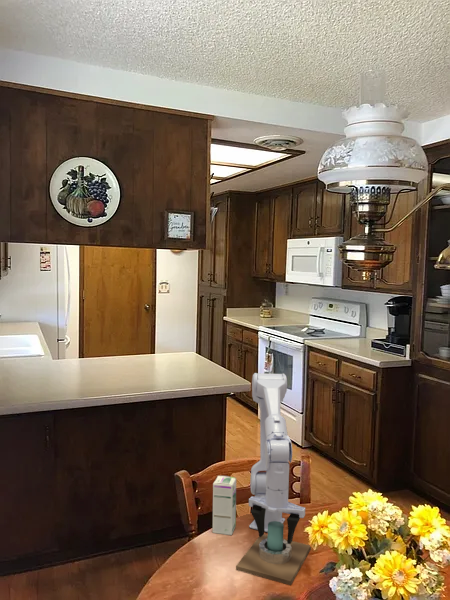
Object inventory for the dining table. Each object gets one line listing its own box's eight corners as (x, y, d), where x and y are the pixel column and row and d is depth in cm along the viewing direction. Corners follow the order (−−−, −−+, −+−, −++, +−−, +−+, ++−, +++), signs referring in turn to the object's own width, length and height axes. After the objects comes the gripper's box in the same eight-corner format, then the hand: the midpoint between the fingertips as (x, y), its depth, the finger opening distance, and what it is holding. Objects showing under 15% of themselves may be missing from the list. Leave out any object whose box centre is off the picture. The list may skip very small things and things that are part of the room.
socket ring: (265, 544, 137) (265, 535, 137) (294, 551, 134) (294, 542, 134) (254, 559, 130) (255, 549, 130) (285, 567, 126) (285, 557, 126)
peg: (270, 549, 134) (271, 519, 134) (284, 553, 133) (285, 523, 132) (264, 557, 131) (265, 526, 130) (279, 561, 129) (280, 530, 129)
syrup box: (232, 535, 143) (233, 484, 142) (211, 533, 144) (212, 482, 144) (235, 526, 149) (237, 476, 148) (215, 523, 150) (217, 474, 149)
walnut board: (261, 536, 143) (261, 533, 143) (310, 549, 137) (310, 545, 137) (235, 569, 126) (236, 565, 126) (290, 585, 121) (290, 581, 121)
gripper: (244, 486, 130) (243, 538, 131) (300, 498, 124) (298, 552, 125) (254, 476, 137) (253, 526, 137) (308, 487, 131) (306, 539, 131)
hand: (275, 538), depth 132 cm, fingers open, 7 cm apart
